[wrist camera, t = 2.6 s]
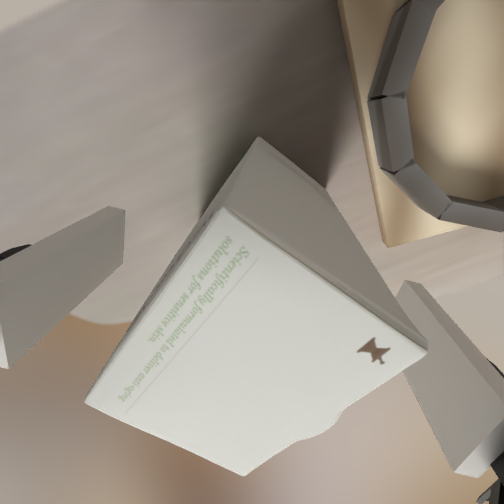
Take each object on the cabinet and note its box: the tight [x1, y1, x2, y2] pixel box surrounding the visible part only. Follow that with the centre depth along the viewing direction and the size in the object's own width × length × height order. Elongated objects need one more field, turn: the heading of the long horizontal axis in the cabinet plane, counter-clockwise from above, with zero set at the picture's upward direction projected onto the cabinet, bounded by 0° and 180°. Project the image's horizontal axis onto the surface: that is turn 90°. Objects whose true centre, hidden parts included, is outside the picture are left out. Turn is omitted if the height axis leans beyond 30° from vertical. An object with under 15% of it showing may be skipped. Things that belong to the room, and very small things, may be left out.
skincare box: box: [85, 137, 429, 476], centre depth 15 cm, size 8×7×16 cm
